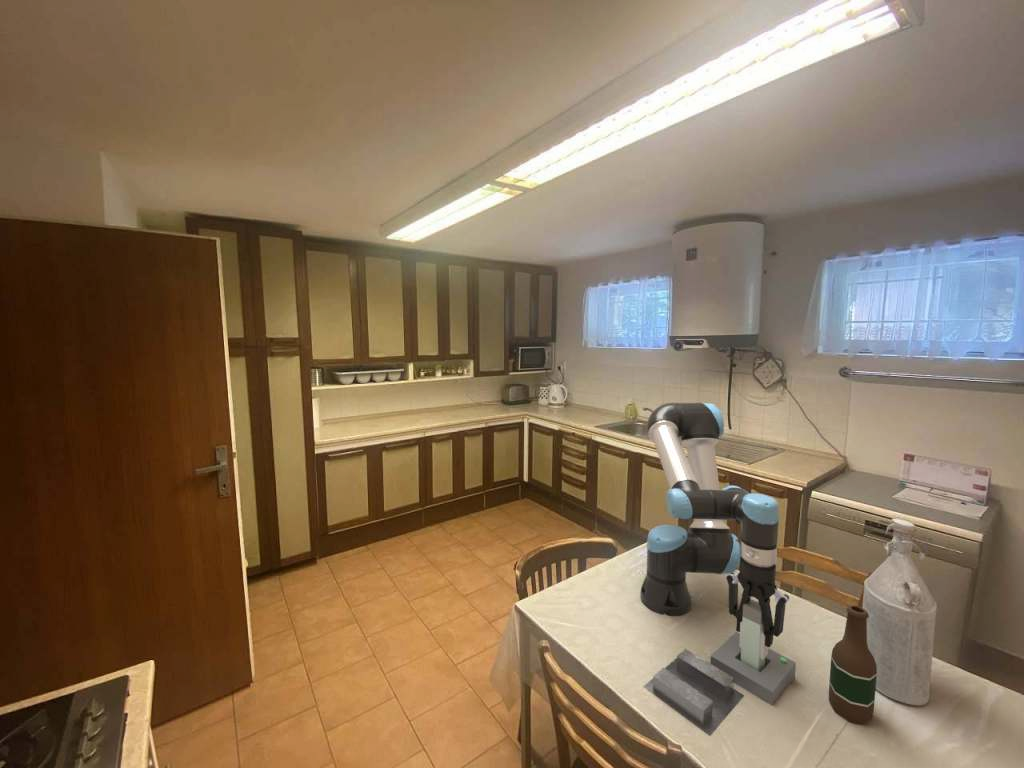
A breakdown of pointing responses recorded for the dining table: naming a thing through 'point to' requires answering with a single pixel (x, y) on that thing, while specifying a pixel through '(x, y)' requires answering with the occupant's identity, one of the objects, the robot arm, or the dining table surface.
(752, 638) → the plug
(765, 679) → the port
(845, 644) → the beer bottle
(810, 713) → the dining table surface
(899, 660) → the canister
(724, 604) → the dining table surface
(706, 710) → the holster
